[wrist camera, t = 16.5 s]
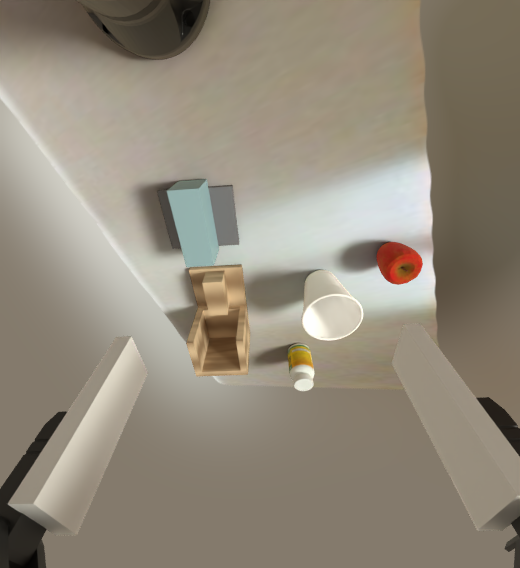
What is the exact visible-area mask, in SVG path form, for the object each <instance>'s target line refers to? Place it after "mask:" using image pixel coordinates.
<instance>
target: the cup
mask: <svg viewBox="0 0 520 568" xmlns="http://www.w3.org/2000/svg"><path fill="white" fill-rule="evenodd" d="M362 318H363V310H362V306H361V305H360V303H359V302H358V301H357V300H356V299H355V298H353V297H352V296H351V294H350V293H349V292H348V291H347V290H346V289H345V288H344V286H343V285H342V284H341V283H340V282H339V280H338V279H337V278H336V277H335V276H334V275H333V274H332V273H331V272H329V271H326V270H318V271H315V272H313V273H311V274H310V275H309V276H308V277H307V278H306V280H305V287H304V307H303V314H302V326H303V328H304V330H305V331H306V332H307V333H308V334H309V335H310V336H312V337H314V338H316V339H320V340H337V339H340V338H343V337H346V336H348V335H349V334H351V333H352V332H354V331H355V330H356V329H357V328H358V326H359V325H360V323H361V321H362Z"/></svg>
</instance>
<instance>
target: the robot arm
mask: <svg viewBox="0 0 520 568" xmlns="http://www.w3.org/2000/svg"><path fill="white" fill-rule="evenodd" d="M76 1H78V2H79V3H81V4H82V5H83V6H84V8H85V9H86V11H87V13H88V14H89V15H90V17H91V18H92V19H93V21H94V22H95V23H96V25H97V26H98V27H99V28H100V29H101V30H102V31H103V32H104V33H105V34H106V35H107V36H108V37H109V38H110V39H111V40H113V41H114V42H115V43H117V44H118V45H119V46H121V47H123V48H124V49H126V50H128V51H130V52H132V53H134V54H136V55H139V56H142V57H145V58H149V59H167V58H171V57H174V56H176V55H178V54H180V53H182V52H183V51H184V50H186V49H187V48H188V47H189V46H190V45H191V44H192V43H193V42H194V40H195V39H196V38H197V36H198V35H199V33H200V31H201V29H202V27H203V25H204V22H205V20H206V17H207V13H208V9H209V4H210V0H76ZM392 365H393V367H394V369H395V371H396V373H397V375H398V377H399V379H400V381H401V383H402V385H403V387H404V389H405V390H406V392H407V394H408V396H409V398H410V400H411V402H412V404H413V406H414V408H415V410H416V412H417V414H418V416H419V418H420V420H421V422H422V424H423V426H424V428H425V429H426V431H427V433H428V435H429V437H430V439H431V441H432V443H433V445H434V447H435V449H436V451H437V453H438V454H439V457H440V459H441V461H442V462H443V465H444V466H445V468H446V470H447V472H448V474H449V476H450V478H451V480H452V482H453V484H454V486H455V488H456V490H457V492H458V494H459V496H460V498H461V500H462V501H463V504H464V505H465V507H466V509H467V511H468V513H469V515H470V517H471V519H472V521H473V523H474V525H475V527H476V529H477V530H478V531H485V530H486V531H491V530H504V529H505V528H506V527H508V526H509V525H510V524H512V526H513V527H514V529H515V531H516V532H517V534H518V535H517V536H516V537H514V538H513V539H511V540H510V541H508V542H507V544H506V546H505V549H506V550H507V551H508V552H509V551H511V550H513V549H514V548H515V560H514V568H520V429H519V428H518V425H517V424H516V423H515V422H514V420H513V419H512V418H511V417H510V416H509V414H508V413H507V412H506V411H505V410H504V409H503V408H502V407H500V406H499V405H498V404H497V403H495V402H494V401H493V400H492V399H490V398H489V397H487V398H475V396H474V395H473V394H472V392H471V391H470V389H469V388H468V387H467V385H466V384H465V383H464V381H463V380H462V379H461V377H460V376H459V375H458V373H457V372H456V371H455V369H454V368H453V367H452V365H451V364H450V363H449V361H448V360H447V359H446V357H445V356H444V355H443V354H442V352H441V351H440V349H439V348H438V346H437V345H436V344H435V342H434V341H433V340H432V338H431V337H430V336H429V334H428V333H427V332H426V330H425V329H424V328H423V326H422V325H421V324H420V323H418V324H404V325H403V328H402V331H401V334H400V338H399V341H398V344H397V348H396V351H395V354H394V358H393V361H392ZM147 374H148V372H147V370H146V367H145V365H144V363H143V361H142V359H141V356H140V354H139V352H138V350H137V348H136V345H135V343H134V341H133V339H132V337H131V336H126V337H116V338H115V340H114V341H113V343H112V344H111V346H110V347H109V349H108V351H107V352H106V353H105V355H104V357H103V358H102V360H101V361H100V363H99V364H98V366H97V367H96V369H95V370H94V372H93V373H92V375H91V376H90V378H89V379H88V381H87V383H86V384H85V386H84V387H83V389H82V391H81V392H80V393H79V395H78V396H77V398H76V400H75V401H74V403H73V404H72V406H71V407H70V409H69V410H68V412H58V413H57V414H56V415H55V416H54V417H53V418H52V419H50V420H49V421H48V422H47V423H46V424H45V425H44V427H43V428H42V430H41V431H40V432H39V434H38V435H37V437H36V438H35V441H34V442H33V443H32V444H31V445H30V447H29V448H28V450H27V451H26V454H25V455H23V457H22V458H21V460H20V461H19V463H18V464H17V466H16V467H15V468H14V470H13V471H12V473H11V474H10V476H9V477H8V478H7V480H6V481H5V483H4V484H3V486H2V487H1V489H0V568H46V563H45V552H44V545H43V542H42V540H41V539H42V537H43V535H44V533H45V531H46V530H48V531H49V532H51V533H52V534H54V535H77V533H78V531H79V529H80V527H81V524H82V522H83V520H84V518H85V515H86V513H87V511H88V508H89V506H90V504H91V502H92V499H93V497H94V495H95V492H96V490H97V488H98V486H99V483H100V481H101V479H102V477H103V474H104V472H105V470H106V467H107V465H108V463H109V461H110V458H111V456H112V454H113V451H114V449H115V447H116V444H117V442H118V440H119V438H120V436H121V433H122V431H123V429H124V426H125V424H126V422H127V420H128V417H129V415H130V413H131V410H132V408H133V406H134V404H135V401H136V399H137V397H138V395H139V392H140V390H141V388H142V385H143V383H144V381H145V379H146V376H147Z"/></svg>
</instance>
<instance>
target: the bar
mask: <svg viewBox="0 0 520 568" xmlns="http://www.w3.org/2000/svg"><path fill="white" fill-rule="evenodd" d="M167 194H168V198H169V202H170V206H171V210H172V213H173V217H174V221H175V225H176V229H177V233H178V237H179V240H180V244H181V248H182V252H183V256H184V260H185V264H186V267H196V266H212V265H214V264H215V260H216V257H217V254H218V251H219V246H218V240H217V235H216V229H215V223H214V217H213V212H212V206H211V200H210V194H209V189H208V183H207V179H201V180H188V181H178V182H177V183H176V184H174V185H173V186H172V187H171V188H170V189H168V190H167Z"/></svg>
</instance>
